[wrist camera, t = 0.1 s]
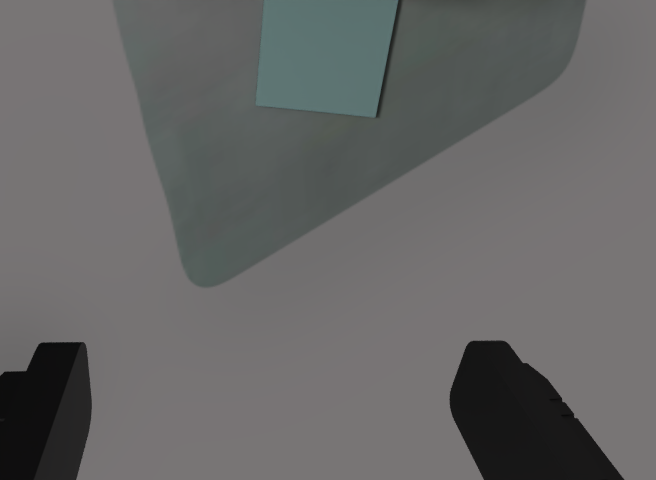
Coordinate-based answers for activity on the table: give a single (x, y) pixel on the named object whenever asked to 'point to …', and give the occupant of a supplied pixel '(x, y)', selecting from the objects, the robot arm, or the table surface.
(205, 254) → the table surface
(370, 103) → the rubber mat
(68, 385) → the robot arm
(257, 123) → the table surface
